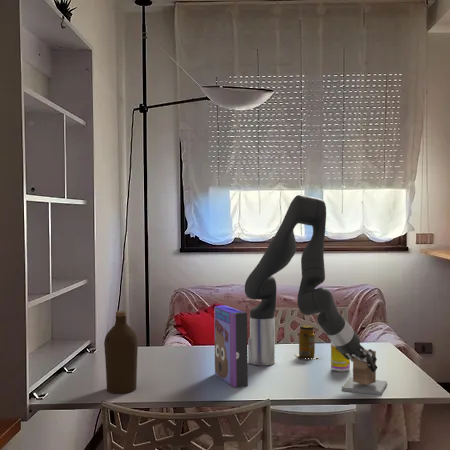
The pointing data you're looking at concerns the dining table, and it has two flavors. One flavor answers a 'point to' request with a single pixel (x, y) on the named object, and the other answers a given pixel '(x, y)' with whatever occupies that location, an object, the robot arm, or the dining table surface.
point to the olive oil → (121, 356)
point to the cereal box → (231, 345)
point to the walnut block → (363, 372)
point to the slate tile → (365, 387)
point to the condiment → (306, 343)
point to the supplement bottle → (338, 360)
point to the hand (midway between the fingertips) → (368, 367)
